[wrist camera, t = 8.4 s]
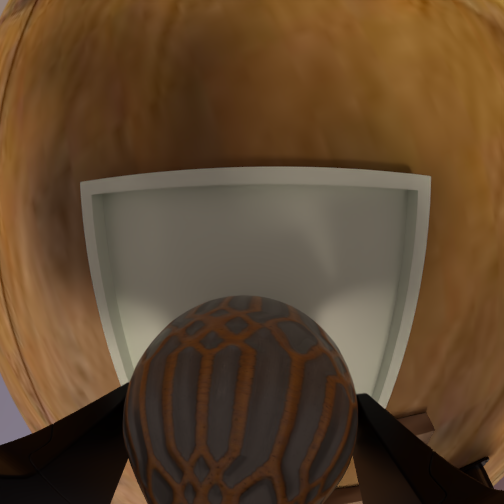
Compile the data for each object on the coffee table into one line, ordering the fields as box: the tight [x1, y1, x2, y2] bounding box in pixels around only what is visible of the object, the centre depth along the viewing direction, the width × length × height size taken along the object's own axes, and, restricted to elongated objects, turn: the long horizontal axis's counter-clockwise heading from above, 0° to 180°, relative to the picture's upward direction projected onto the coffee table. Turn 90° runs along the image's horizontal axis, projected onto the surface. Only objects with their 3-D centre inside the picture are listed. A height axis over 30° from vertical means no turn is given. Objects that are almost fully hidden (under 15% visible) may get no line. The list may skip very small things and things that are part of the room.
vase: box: [123, 295, 358, 504], centre depth 7 cm, size 7×7×9 cm
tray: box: [80, 167, 431, 409], centre depth 12 cm, size 14×14×2 cm
